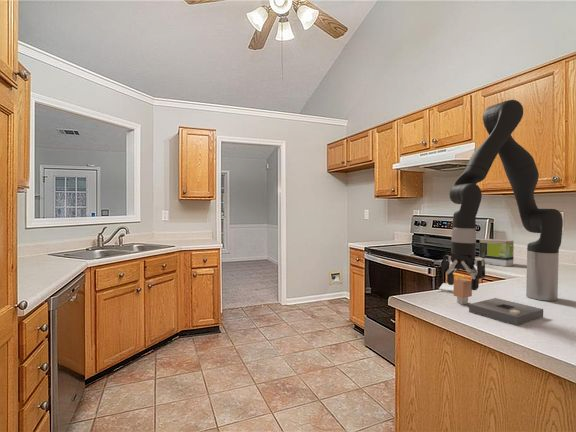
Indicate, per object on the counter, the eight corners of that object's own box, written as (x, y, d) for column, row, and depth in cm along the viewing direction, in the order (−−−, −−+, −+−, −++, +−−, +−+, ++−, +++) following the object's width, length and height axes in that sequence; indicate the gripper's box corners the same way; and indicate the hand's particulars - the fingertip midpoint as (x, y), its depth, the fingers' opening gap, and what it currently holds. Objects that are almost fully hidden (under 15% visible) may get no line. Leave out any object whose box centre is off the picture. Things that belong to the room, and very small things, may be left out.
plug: (462, 300, 116) (462, 278, 116) (471, 303, 113) (472, 280, 113) (453, 302, 114) (453, 280, 114) (462, 305, 111) (463, 282, 111)
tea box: (513, 265, 192) (514, 240, 191) (506, 266, 186) (506, 241, 186) (486, 261, 204) (487, 238, 204) (478, 263, 198) (479, 239, 198)
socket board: (495, 305, 111) (495, 295, 111) (543, 317, 99) (543, 306, 99) (469, 311, 104) (469, 301, 104) (517, 325, 92) (517, 314, 92)
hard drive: (442, 282, 140) (438, 288, 130) (464, 285, 136) (461, 291, 126) (442, 286, 140) (438, 292, 130) (464, 289, 136) (461, 295, 126)
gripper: (490, 242, 109) (489, 290, 109) (451, 238, 121) (450, 282, 121) (477, 243, 105) (475, 293, 105) (438, 239, 117) (437, 284, 118)
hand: (462, 287), depth 113 cm, fingers open, 8 cm apart
